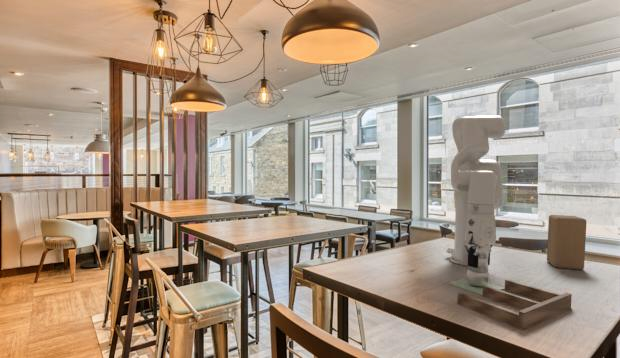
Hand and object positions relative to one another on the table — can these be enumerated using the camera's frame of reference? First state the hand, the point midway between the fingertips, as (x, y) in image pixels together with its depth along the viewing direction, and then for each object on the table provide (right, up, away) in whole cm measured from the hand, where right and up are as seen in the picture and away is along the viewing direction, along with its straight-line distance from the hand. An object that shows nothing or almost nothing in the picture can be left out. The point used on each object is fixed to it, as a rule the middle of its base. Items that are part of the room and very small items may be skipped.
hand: (478, 265), depth 108 cm
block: (+48, -8, +28) cm, 56 cm away
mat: (-1, -7, +1) cm, 7 cm away
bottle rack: (+2, -8, -15) cm, 16 cm away
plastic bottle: (0, -7, 0) cm, 7 cm away
